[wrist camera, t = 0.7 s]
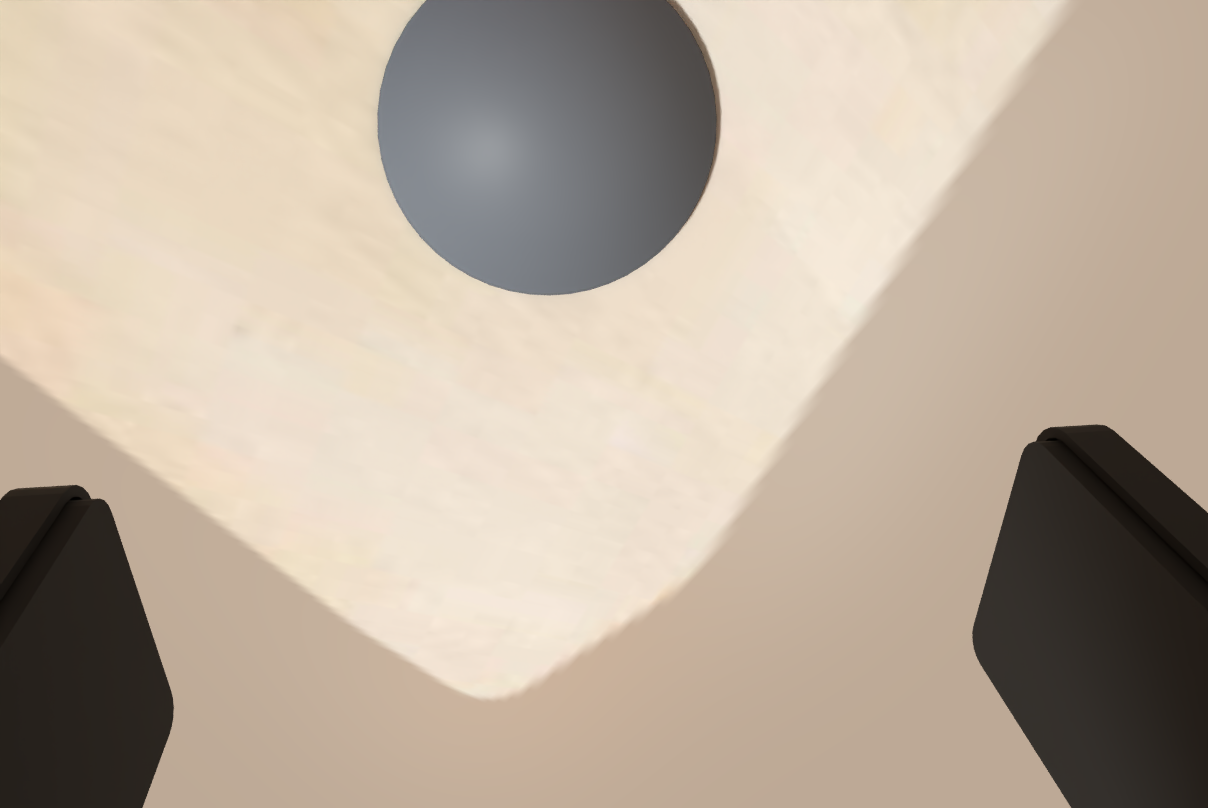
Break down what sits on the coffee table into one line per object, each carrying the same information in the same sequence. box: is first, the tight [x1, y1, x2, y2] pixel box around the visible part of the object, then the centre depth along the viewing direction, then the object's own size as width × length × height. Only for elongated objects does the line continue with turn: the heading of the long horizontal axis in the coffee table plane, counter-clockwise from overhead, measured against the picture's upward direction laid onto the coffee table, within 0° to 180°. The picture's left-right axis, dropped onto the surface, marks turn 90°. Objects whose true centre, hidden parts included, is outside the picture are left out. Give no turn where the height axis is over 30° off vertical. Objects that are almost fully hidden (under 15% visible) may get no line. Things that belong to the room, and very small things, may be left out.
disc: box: [378, 0, 716, 295], centre depth 35 cm, size 13×13×1 cm
